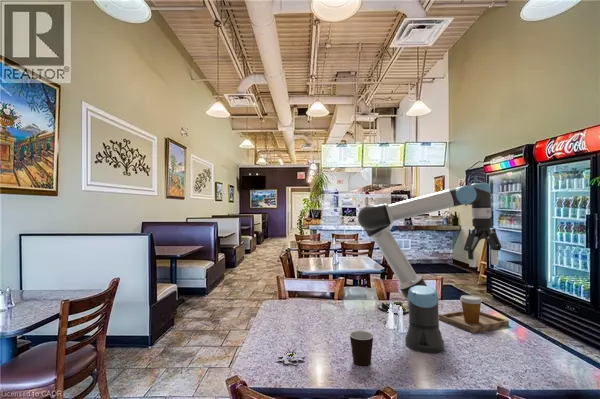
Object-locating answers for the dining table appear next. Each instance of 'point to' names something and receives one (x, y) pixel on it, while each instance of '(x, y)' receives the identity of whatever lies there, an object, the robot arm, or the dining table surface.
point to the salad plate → (386, 306)
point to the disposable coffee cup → (471, 308)
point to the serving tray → (484, 324)
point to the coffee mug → (361, 347)
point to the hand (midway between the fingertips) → (483, 265)
